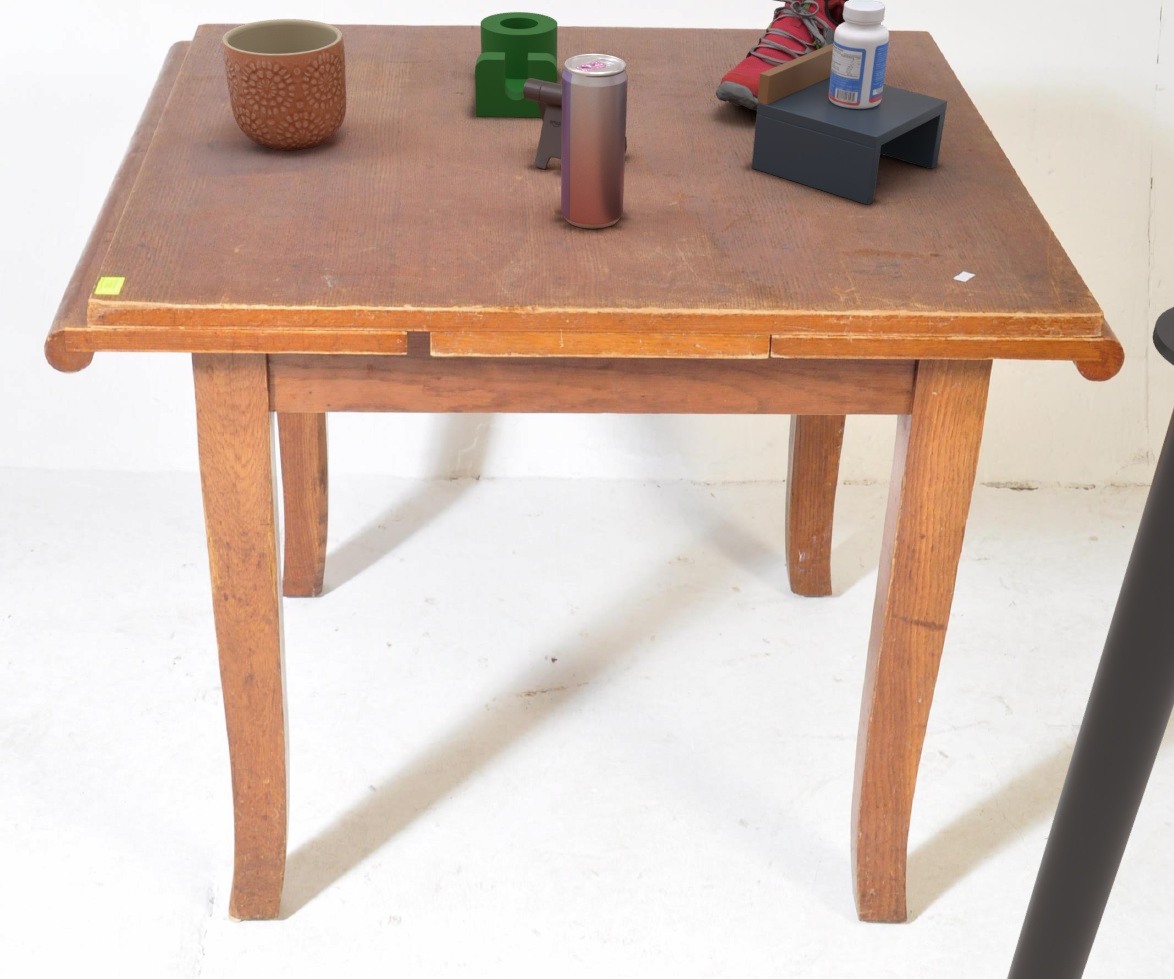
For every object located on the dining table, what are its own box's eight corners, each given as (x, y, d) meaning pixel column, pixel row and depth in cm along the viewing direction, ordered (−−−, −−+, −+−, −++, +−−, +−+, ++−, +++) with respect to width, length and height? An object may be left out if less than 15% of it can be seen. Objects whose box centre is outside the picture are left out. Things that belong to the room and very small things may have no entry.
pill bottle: (868, 91, 149) (880, -5, 144) (889, 108, 145) (903, 10, 139) (818, 94, 148) (829, -2, 143) (838, 112, 144) (850, 13, 138)
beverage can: (548, 216, 138) (548, 61, 130) (593, 200, 142) (597, 48, 133) (589, 236, 135) (593, 78, 126) (635, 219, 138) (641, 65, 130)
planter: (318, 110, 161) (309, 12, 155) (371, 144, 153) (364, 42, 147) (214, 132, 155) (201, 30, 149) (264, 169, 147) (252, 62, 141)
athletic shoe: (675, 104, 165) (681, -2, 158) (827, 63, 178) (838, -36, 172) (750, 135, 157) (759, 26, 151) (903, 91, 170) (918, -12, 164)
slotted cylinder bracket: (483, 64, 175) (482, 11, 172) (557, 66, 176) (557, 12, 172) (476, 116, 161) (474, 59, 157) (556, 117, 161) (557, 60, 157)
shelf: (937, 166, 151) (952, 72, 145) (867, 205, 142) (880, 106, 137) (824, 133, 158) (835, 42, 153) (751, 168, 150) (759, 73, 144)
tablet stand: (628, 156, 152) (631, 78, 147) (591, 181, 146) (593, 100, 141) (556, 140, 155) (556, 63, 150) (517, 163, 149) (517, 84, 145)
